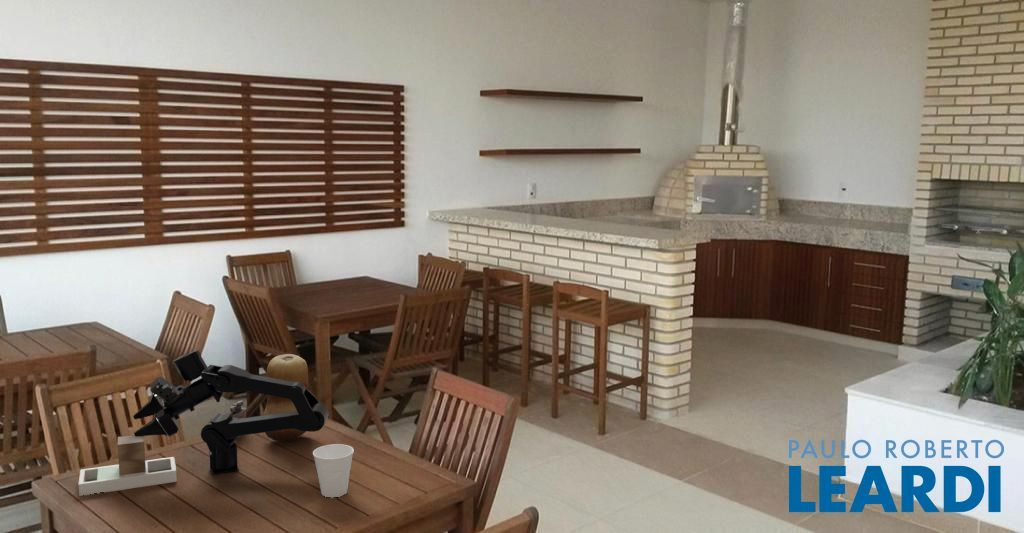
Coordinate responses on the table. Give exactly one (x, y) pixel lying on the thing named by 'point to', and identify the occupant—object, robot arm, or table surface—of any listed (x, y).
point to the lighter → (238, 411)
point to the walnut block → (131, 454)
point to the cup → (333, 468)
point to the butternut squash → (287, 370)
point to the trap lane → (126, 477)
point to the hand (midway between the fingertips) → (134, 426)
